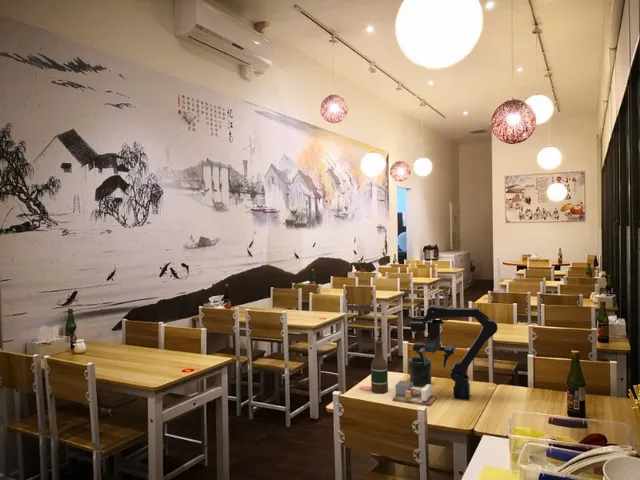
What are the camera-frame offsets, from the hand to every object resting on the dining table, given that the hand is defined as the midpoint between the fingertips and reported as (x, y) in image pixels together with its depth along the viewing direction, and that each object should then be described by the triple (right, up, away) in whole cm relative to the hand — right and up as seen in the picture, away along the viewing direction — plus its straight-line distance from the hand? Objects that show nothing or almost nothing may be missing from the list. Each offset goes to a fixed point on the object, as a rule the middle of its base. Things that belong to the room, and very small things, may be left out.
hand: (434, 367), depth 229 cm
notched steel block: (-14, -12, -1) cm, 19 cm away
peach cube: (-13, -12, -7) cm, 19 cm away
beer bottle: (-24, -14, +7) cm, 29 cm away
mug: (-3, -13, +19) cm, 23 cm away
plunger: (-8, -12, -5) cm, 15 cm away
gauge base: (-10, -13, -5) cm, 17 cm away
